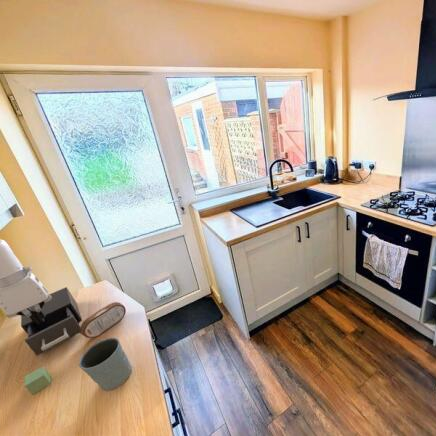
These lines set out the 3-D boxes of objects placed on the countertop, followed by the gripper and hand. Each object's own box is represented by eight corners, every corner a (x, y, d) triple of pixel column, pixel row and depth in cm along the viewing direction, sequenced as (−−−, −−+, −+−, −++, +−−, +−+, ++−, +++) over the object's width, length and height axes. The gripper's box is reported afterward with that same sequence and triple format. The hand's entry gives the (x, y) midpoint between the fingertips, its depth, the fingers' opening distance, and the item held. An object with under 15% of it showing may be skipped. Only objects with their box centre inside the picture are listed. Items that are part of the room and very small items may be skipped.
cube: (32, 395, 75) (24, 386, 73) (32, 385, 78) (24, 376, 76) (51, 383, 78) (43, 375, 76) (50, 374, 81) (43, 366, 79)
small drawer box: (82, 320, 102) (70, 302, 98) (35, 344, 93) (20, 326, 89) (76, 303, 113) (66, 286, 109) (34, 323, 104) (21, 306, 99)
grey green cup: (139, 371, 79) (125, 345, 73) (105, 401, 71) (86, 375, 66) (125, 356, 84) (110, 332, 79) (91, 383, 77) (72, 358, 72)
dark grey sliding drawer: (85, 339, 92) (75, 324, 88) (37, 366, 83) (24, 351, 80) (77, 313, 105) (68, 299, 102) (35, 334, 97) (24, 319, 93)
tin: (126, 312, 104) (118, 297, 100) (130, 315, 102) (122, 299, 98) (85, 340, 92) (74, 324, 89) (89, 344, 91) (78, 327, 87)
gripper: (41, 262, 83) (67, 303, 91) (-25, 285, 74) (10, 329, 81) (42, 270, 78) (69, 312, 86) (-29, 296, 69) (9, 341, 76)
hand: (40, 320), depth 83 cm, fingers closed
